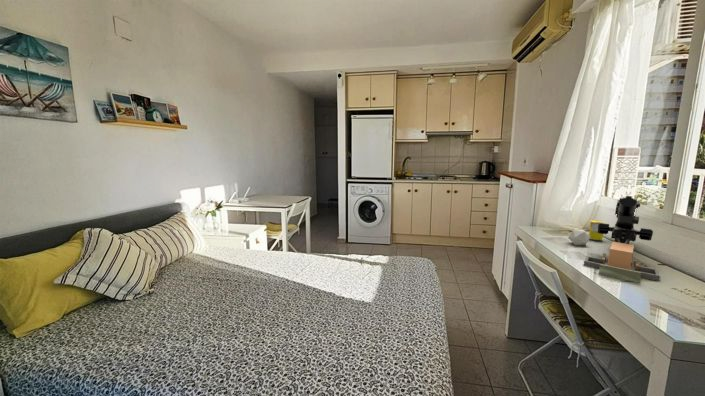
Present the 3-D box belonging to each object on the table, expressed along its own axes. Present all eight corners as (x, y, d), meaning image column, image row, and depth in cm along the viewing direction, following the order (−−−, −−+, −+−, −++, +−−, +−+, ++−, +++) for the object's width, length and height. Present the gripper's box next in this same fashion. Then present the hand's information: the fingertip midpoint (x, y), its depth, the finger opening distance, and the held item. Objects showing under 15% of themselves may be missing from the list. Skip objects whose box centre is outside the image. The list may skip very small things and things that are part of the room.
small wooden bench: (602, 257, 137) (603, 249, 136) (637, 263, 128) (639, 255, 128) (598, 273, 117) (600, 264, 117) (639, 282, 109) (641, 272, 108)
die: (589, 249, 150) (596, 233, 152) (574, 240, 151) (581, 224, 153) (577, 249, 158) (583, 234, 160) (562, 241, 159) (569, 226, 161)
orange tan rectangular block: (610, 260, 133) (613, 241, 132) (631, 264, 128) (634, 244, 127) (607, 268, 123) (609, 248, 122) (629, 273, 118) (632, 252, 117)
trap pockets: (585, 259, 133) (586, 255, 133) (657, 274, 117) (658, 269, 117) (583, 265, 126) (584, 260, 126) (659, 281, 111) (659, 276, 110)
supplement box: (601, 239, 166) (604, 221, 164) (602, 241, 161) (604, 223, 159) (588, 237, 169) (590, 219, 168) (588, 239, 164) (591, 221, 163)
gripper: (600, 206, 140) (596, 232, 134) (655, 212, 127) (653, 241, 121) (599, 220, 147) (595, 245, 140) (652, 226, 134) (649, 254, 128)
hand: (621, 246), depth 132 cm, fingers closed
